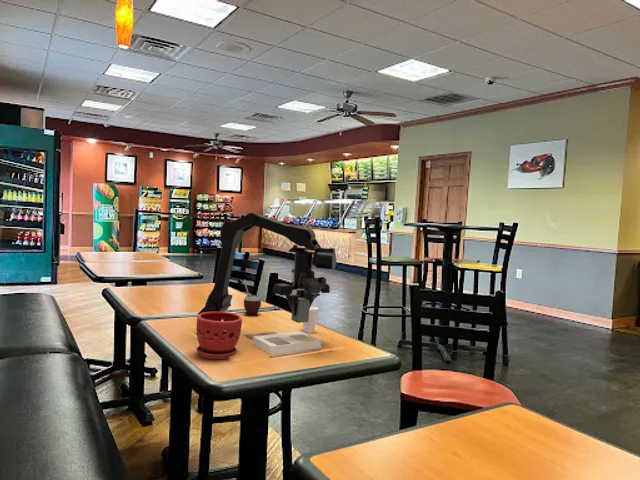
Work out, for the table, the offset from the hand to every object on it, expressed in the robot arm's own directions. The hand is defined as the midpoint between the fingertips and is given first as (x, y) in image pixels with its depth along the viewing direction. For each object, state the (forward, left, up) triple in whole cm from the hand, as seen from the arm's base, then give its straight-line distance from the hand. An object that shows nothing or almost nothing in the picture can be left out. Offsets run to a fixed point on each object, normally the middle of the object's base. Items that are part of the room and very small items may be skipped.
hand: (300, 314), depth 153 cm
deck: (-5, +13, -11) cm, 18 cm away
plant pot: (-26, +3, -11) cm, 29 cm away
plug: (0, 0, -2) cm, 2 cm away
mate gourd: (+7, +48, -11) cm, 50 cm away
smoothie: (+13, +13, -11) cm, 21 cm away
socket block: (-4, 0, -11) cm, 12 cm away
